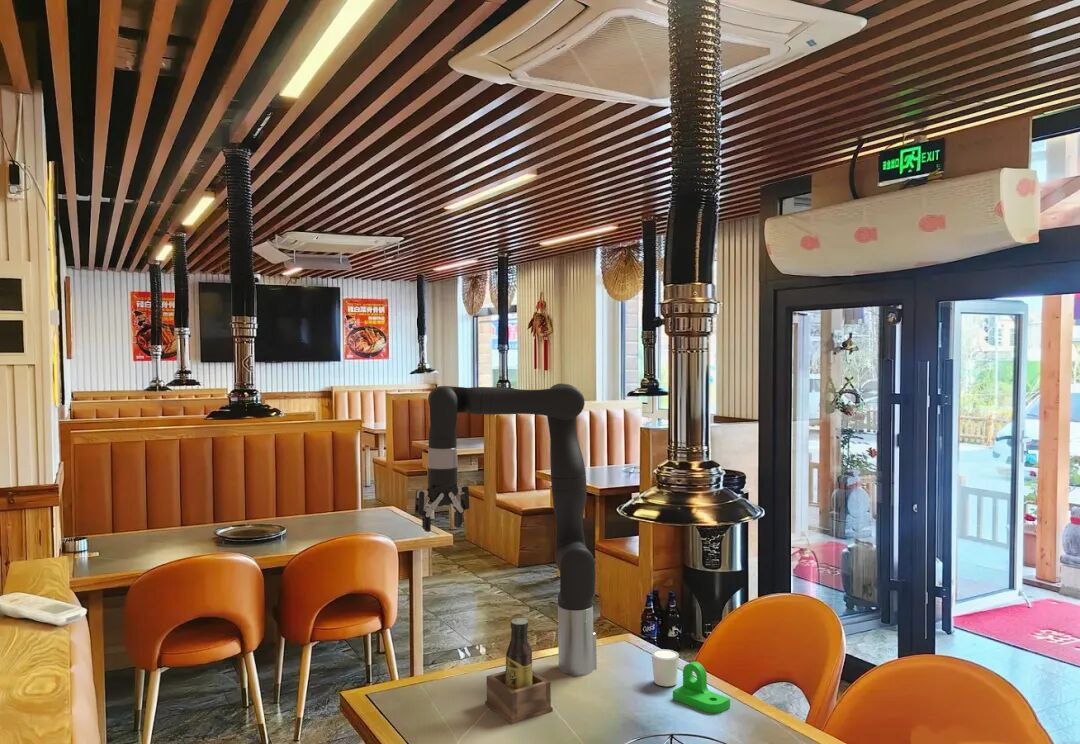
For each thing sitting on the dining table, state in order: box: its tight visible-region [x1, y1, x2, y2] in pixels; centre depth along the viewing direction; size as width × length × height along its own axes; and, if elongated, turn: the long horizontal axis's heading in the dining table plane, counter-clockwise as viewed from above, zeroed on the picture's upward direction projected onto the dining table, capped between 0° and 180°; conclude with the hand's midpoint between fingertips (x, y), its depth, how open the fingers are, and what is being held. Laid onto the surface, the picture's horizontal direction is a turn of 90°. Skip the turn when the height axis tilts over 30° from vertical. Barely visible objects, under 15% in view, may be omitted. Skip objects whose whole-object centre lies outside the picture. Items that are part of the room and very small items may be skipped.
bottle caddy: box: [484, 670, 554, 725], centre depth 181 cm, size 11×12×7 cm
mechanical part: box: [672, 661, 731, 714], centre depth 184 cm, size 12×6×8 cm, turn 43°
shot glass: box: [651, 648, 680, 687], centre depth 195 cm, size 7×7×7 cm
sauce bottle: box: [505, 617, 533, 690], centre depth 181 cm, size 7×6×20 cm
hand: (442, 529), depth 197 cm, fingers open, 8 cm apart
